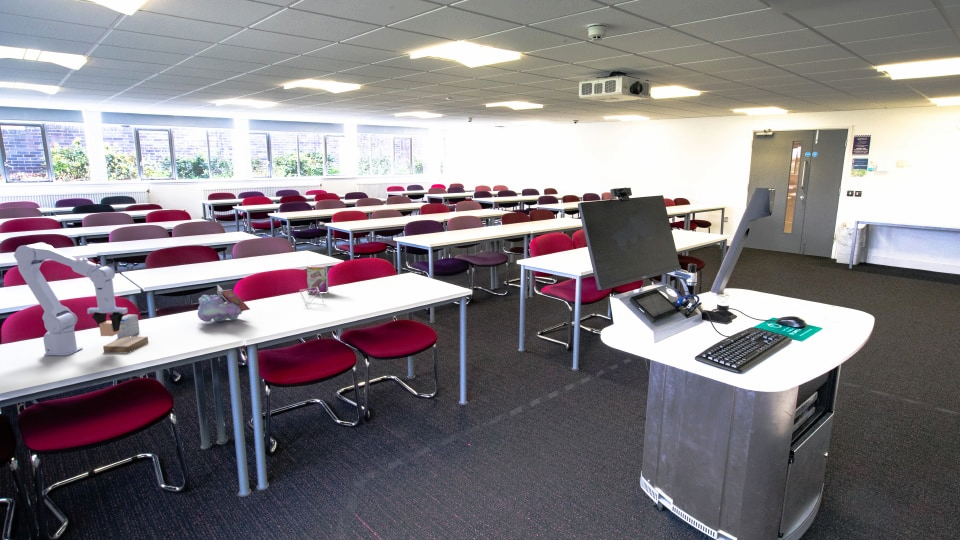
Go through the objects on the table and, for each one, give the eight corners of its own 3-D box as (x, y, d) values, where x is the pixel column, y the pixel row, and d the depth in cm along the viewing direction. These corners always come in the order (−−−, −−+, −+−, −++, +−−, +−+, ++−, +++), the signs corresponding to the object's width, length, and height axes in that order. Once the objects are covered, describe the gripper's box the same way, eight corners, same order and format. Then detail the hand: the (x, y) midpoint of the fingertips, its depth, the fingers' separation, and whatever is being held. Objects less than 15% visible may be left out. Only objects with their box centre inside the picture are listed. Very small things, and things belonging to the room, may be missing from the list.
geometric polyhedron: (324, 302, 283) (323, 286, 281) (325, 306, 273) (324, 290, 271) (300, 303, 279) (299, 287, 277) (300, 308, 269) (299, 292, 267)
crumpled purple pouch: (196, 320, 246) (193, 284, 243) (244, 313, 258) (242, 279, 254) (200, 331, 230) (197, 292, 226) (252, 323, 241) (249, 287, 238)
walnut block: (104, 353, 202) (103, 346, 202) (124, 343, 214) (123, 336, 213) (129, 353, 202) (128, 346, 202) (148, 343, 214) (147, 336, 213)
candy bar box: (307, 294, 299) (305, 267, 296) (309, 292, 304) (308, 265, 301) (326, 294, 300) (325, 267, 297) (328, 292, 305) (327, 265, 302)
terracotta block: (100, 336, 200) (99, 323, 199) (109, 332, 204) (107, 320, 203) (112, 336, 200) (110, 323, 199) (120, 332, 204) (118, 320, 203)
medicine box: (130, 332, 227) (127, 314, 225) (140, 332, 226) (137, 314, 225) (117, 338, 219) (114, 319, 217) (127, 338, 219) (124, 319, 217)
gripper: (79, 300, 195) (84, 333, 198) (117, 300, 195) (121, 333, 198) (92, 295, 202) (97, 328, 205) (129, 295, 202) (133, 328, 205)
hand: (110, 330), depth 202 cm, fingers closed on terracotta block, 4 cm apart
